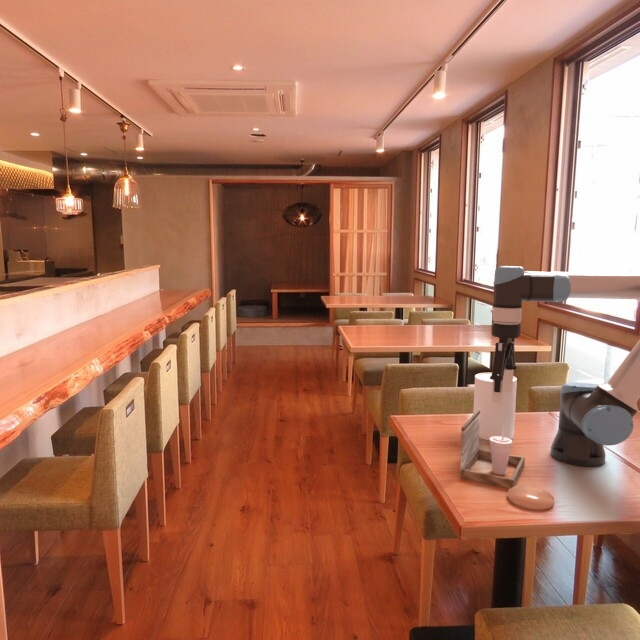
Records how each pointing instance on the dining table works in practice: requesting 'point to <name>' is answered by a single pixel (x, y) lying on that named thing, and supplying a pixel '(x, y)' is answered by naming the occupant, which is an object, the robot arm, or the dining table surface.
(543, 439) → the dining table surface
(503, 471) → the smoothie
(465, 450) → the box
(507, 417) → the canister
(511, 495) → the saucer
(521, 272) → the robot arm
